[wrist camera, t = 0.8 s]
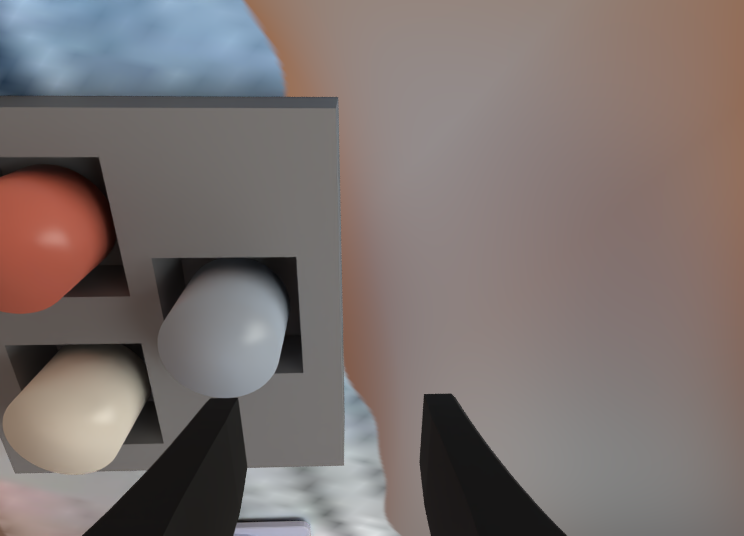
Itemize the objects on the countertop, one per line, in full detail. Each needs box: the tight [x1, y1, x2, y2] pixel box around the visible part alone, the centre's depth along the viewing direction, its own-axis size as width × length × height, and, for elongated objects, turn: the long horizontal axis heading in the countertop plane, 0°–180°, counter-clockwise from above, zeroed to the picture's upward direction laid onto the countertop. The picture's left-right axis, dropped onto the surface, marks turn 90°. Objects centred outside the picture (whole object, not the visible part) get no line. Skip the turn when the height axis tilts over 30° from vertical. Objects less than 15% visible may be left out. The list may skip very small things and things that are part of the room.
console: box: [0, 96, 345, 473], centre depth 20 cm, size 15×14×3 cm
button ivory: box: [2, 344, 151, 475], centre depth 19 cm, size 4×4×3 cm
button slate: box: [157, 257, 290, 398], centre depth 18 cm, size 4×4×3 cm
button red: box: [0, 164, 117, 314], centre depth 16 cm, size 4×4×3 cm
